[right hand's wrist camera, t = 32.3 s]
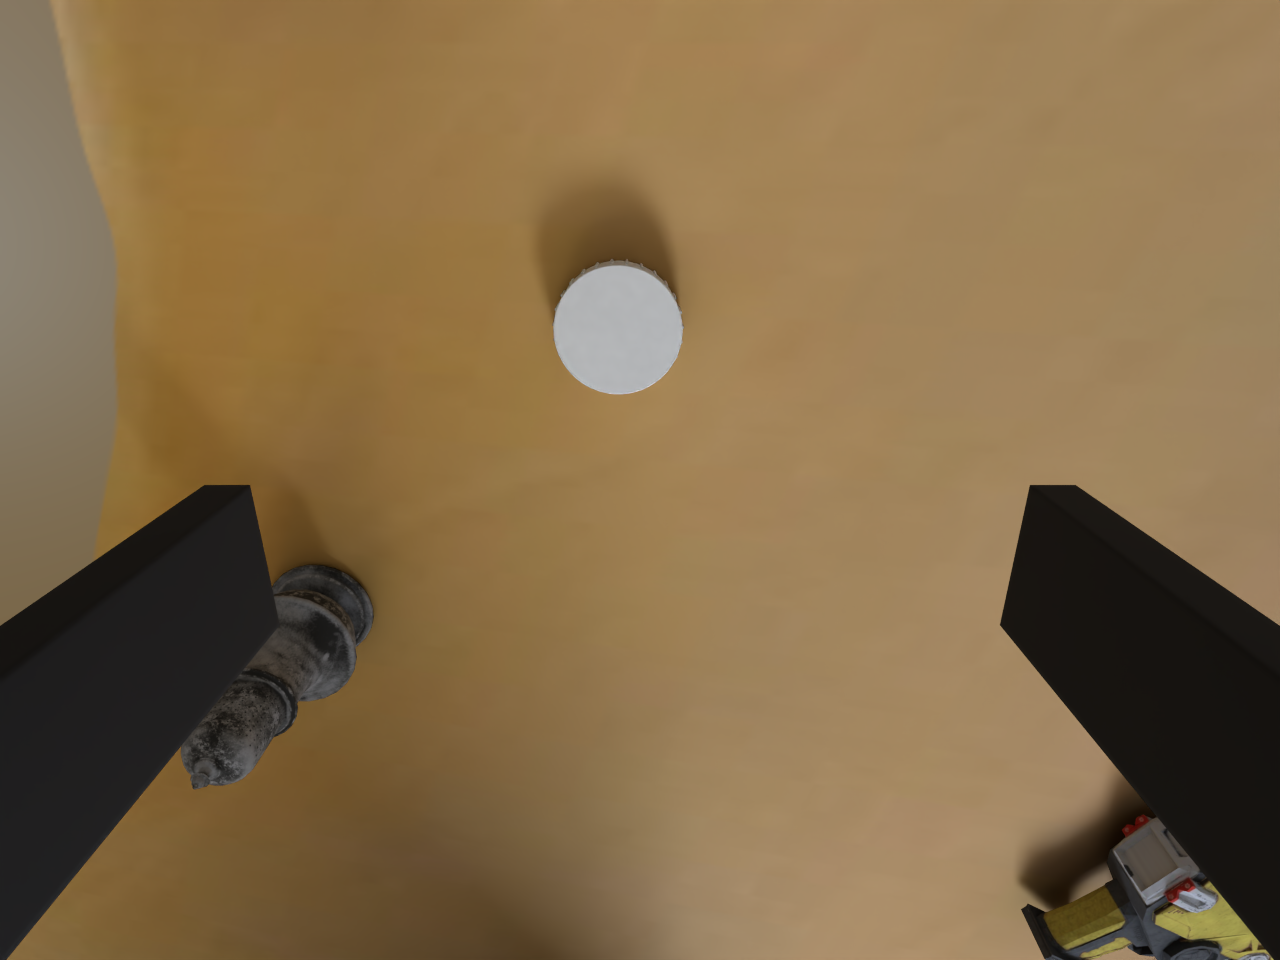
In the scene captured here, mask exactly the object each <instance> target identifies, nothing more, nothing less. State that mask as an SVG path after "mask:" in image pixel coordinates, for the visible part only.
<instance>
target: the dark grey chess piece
mask: <svg viewBox="0 0 1280 960" xmlns="http://www.w3.org/2000/svg"><path fill="white" fill-rule="evenodd" d="M272 590H273V595H274V600H275V604H276V609H277V614H278V618H279V623H280V626H279V627H278V628H277V629H276V631H275V632H274V633H273V634H272V635H271V637H270V638H269V639H268V640H267V642H266V643H265V644H264V645H263V646H262V648H261V649H260V650H259V651H258V653H257V654H256V655H255V656H254V657H253V659H252V660H251V661H250V662H249V664H248V665H247V666H246V667H245V668H244V670H243V671H242V672H241V673H240V675H239V676H238V677H237V678H236V679H235V681H234V682H233V683H232V684H231V686H230V687H229V688H228V689H227V690H226V692H225V693H224V694H223V695H222V697H221V698H220V699H219V700H218V701H217V703H216V704H215V705H214V706H213V708H212V709H211V710H210V711H209V712H208V714H207V715H206V716H205V717H204V719H203V720H202V721H201V722H200V723H199V725H198V726H197V727H196V728H195V730H194V731H193V732H192V733H191V734H190V736H189V737H188V738H187V739H186V741H185V742H184V743H183V744H182V746H181V756H182V761H183V765H184V767H185V768H186V770H187V771H188V772H189V773H190V774H191V775H192V776H191V782H192V786H193V789H199V788H202V787H206V786H207V785H209V784H210V785H227V784H231V783H235V782H237V781H239V780H241V779H243V778H244V777H245V776H246V775H247V774H248V773H249V772H250V771H252V770H253V768H254V767H255V765H256V764H257V762H258V761H259V759H260V757H261V756H262V754H263V753H264V751H265V750H266V748H267V746H268V745H269V743H270V742H271V740H272V739H273V737H275V736H278V735H280V734H282V733H284V732H285V731H287V730H288V729H289V728H290V727H291V726H292V724H293V722H294V720H295V719H296V717H297V710H298V706H297V703H298V701H313V700H317V699H322V698H325V697H328V696H330V695H332V694H334V693H336V692H337V691H339V690H340V689H341V688H342V687H343V686H344V685H345V684H346V683H347V682H348V680H349V679H350V677H351V675H352V673H353V671H354V669H355V663H356V658H357V656H356V649H355V648H356V646H358V645H359V644H360V643H361V642H362V641H363V640H364V639H365V638H366V636H367V635H368V633H369V631H370V629H371V627H372V622H373V617H374V616H373V608H372V604H371V601H370V599H369V597H368V595H367V593H366V592H365V590H364V589H363V588H362V587H361V585H360V584H359V583H358V582H357V581H355V580H354V579H353V578H351V577H350V576H349V575H347V574H345V573H343V572H341V571H339V570H337V569H335V568H331V567H327V566H322V565H305V566H301V567H297V568H293V569H292V570H290V571H288V572H286V573H284V574H283V575H282V576H281V577H280V578H279V579H278V580H277V581H276V582H275V583H274V585H273V587H272Z"/></svg>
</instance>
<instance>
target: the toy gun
mask: <svg viewBox="0 0 1280 960" xmlns="http://www.w3.org/2000/svg"><path fill="white" fill-rule="evenodd" d="M1122 831H1123V833H1124V835H1125V838H1124V839H1123V840H1122V841H1121V842H1120V843H1119V844H1117V845H1116V846H1115V847H1113V848H1112V849H1110V852H1109V856H1108V860H1107V864H1108V867H1109V870H1110V872H1111V875H1112V877H1113V880H1112V881H1110V882H1108V883H1106V884H1105V885H1104V886H1102V887H1100V888H1099V889H1097V890H1095V891H1093V892H1091V893H1089V894H1087V895H1085V896H1083V897H1081V898H1079V899H1077V900H1075V901H1074V902H1071V903H1069V904H1067V905H1064V906H1062V907H1059V908H1057V909H1054V910H1052V911H1049V912H1044V911H1042V910H1040V909H1038V908H1036V907H1034V906H1032V905H1029V904H1027V906H1026V907H1024V908H1022V909H1021V910H1022V912H1023V914H1024V916H1025V919H1026V921H1027V923H1028V925H1029V927H1030V929H1031V931H1032V933H1033V935H1034V938H1035V940H1036V942H1037V944H1038V946H1039V948H1040V950H1041V952H1042V954H1043V957H1044V959H1045V960H1091V959H1095V958H1099V957H1101V956H1102V955H1104V954H1107V953H1110V952H1114V951H1117V950H1121V949H1123V948H1125V947H1126V946H1127V947H1128V948H1129V949H1131V950H1132V951H1134V952H1136V953H1137V954H1139V955H1145V956H1155V958H1156V959H1157V960H1274V959H1273V958H1272V957H1271V956H1270V955H1269V953H1268V952H1267V951H1266V950H1265V948H1264V947H1263V946H1262V945H1261V944H1260V942H1259V941H1258V940H1257V939H1256V937H1255V936H1254V935H1253V934H1252V933H1251V931H1250V930H1249V929H1248V928H1247V926H1246V925H1245V924H1244V923H1243V922H1242V920H1241V919H1240V918H1239V917H1238V915H1237V914H1236V913H1235V912H1234V911H1233V909H1232V908H1231V907H1230V906H1229V904H1228V903H1227V902H1226V901H1225V900H1224V898H1223V897H1222V896H1221V895H1220V893H1219V892H1218V891H1217V890H1216V889H1215V887H1214V886H1213V885H1212V884H1211V882H1210V881H1209V880H1208V879H1207V878H1206V876H1205V875H1204V874H1203V873H1202V871H1201V870H1200V869H1199V868H1198V867H1197V865H1196V864H1195V863H1194V862H1193V860H1192V859H1191V858H1190V857H1189V855H1188V854H1187V853H1186V852H1185V851H1184V849H1183V848H1182V847H1181V846H1180V844H1179V843H1178V842H1177V841H1176V840H1175V838H1174V837H1173V836H1172V835H1171V833H1170V832H1169V831H1168V830H1167V829H1166V827H1165V826H1164V825H1163V824H1162V822H1161V821H1160V820H1159V819H1158V818H1157V817H1156V818H1154V819H1152V818H1149V817H1147V816H1145V815H1141V816H1139V817H1137V818H1136V822H1135V825H1126V826H1125V827H1124V828H1123V829H1122Z"/></svg>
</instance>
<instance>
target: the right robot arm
mask: <svg viewBox="0 0 1280 960" xmlns="http://www.w3.org/2000/svg"><path fill="white" fill-rule="evenodd" d="M279 626H280V623H279V618H278V614H277V609H276V604H275V600H274V595H273V590H272V586H271V581H270V576H269V572H268V567H267V562H266V558H265V553H264V548H263V544H262V539H261V534H260V530H259V525H258V520H257V516H256V511H255V506H254V502H253V497H252V492H251V488H250V485H204V486H202V487H201V488H200V489H198V490H197V491H195V492H194V493H192V494H191V495H189V496H188V497H187V498H185V499H184V500H182V501H181V502H179V503H178V504H176V505H175V506H173V507H172V508H171V509H169V510H168V511H166V512H165V513H163V514H162V515H160V516H159V517H158V518H156V519H155V520H153V521H152V522H150V523H149V524H147V525H146V526H144V527H143V528H142V529H140V530H139V531H137V532H136V533H134V534H133V535H131V536H130V537H128V538H127V539H126V540H124V541H123V542H121V543H120V544H118V545H117V546H115V547H114V548H113V549H111V550H110V551H108V552H107V553H105V554H104V555H102V556H101V557H99V558H98V559H97V560H95V561H94V562H92V563H91V564H89V565H88V566H86V567H85V568H84V569H82V570H81V571H79V572H78V573H76V574H75V575H73V576H72V577H70V578H69V579H68V580H66V581H65V582H63V583H62V584H60V585H59V586H57V587H56V588H55V589H53V590H52V591H50V592H49V593H47V594H46V595H44V596H43V597H41V598H40V599H39V600H37V601H36V602H34V603H33V604H31V605H30V606H28V607H27V608H26V609H24V610H23V611H21V612H20V613H18V614H17V615H15V616H14V617H12V618H11V619H10V620H8V621H7V622H5V623H4V624H2V625H1V626H0V960H6V959H7V958H8V957H9V956H10V955H11V953H12V952H13V951H14V950H15V948H16V947H17V946H18V945H19V944H20V942H21V941H22V940H23V939H24V937H25V936H26V935H27V934H28V933H29V931H30V930H31V929H32V928H33V926H34V925H35V924H36V923H37V922H38V920H39V919H40V918H41V917H42V915H43V914H44V913H45V912H46V911H47V909H48V908H49V907H50V906H51V904H52V903H53V902H54V901H55V900H56V898H57V897H58V896H59V895H60V893H61V892H62V891H63V890H64V889H65V887H66V886H67V885H68V884H69V882H70V881H71V880H72V879H73V878H74V876H75V875H76V874H77V873H78V871H79V870H80V869H81V868H82V867H83V865H84V864H85V863H86V862H87V860H88V859H89V858H90V857H91V855H92V854H93V853H94V852H95V851H96V849H97V848H98V847H99V846H100V844H101V843H102V842H103V841H104V840H105V838H106V837H107V836H108V835H109V833H110V832H111V831H112V830H113V829H114V827H115V826H116V825H117V824H118V822H119V821H120V820H121V819H122V818H123V816H124V815H125V814H126V813H127V811H128V810H129V809H130V808H131V807H132V805H133V804H134V803H135V802H136V800H137V799H138V798H139V797H140V796H141V794H142V793H143V792H144V791H145V789H146V788H147V787H148V786H149V785H150V783H151V782H152V781H153V780H154V778H155V777H156V776H157V775H158V774H159V772H160V771H161V770H162V769H163V767H164V766H165V765H166V764H167V763H168V761H169V760H170V759H171V758H172V756H173V755H174V754H175V753H176V752H177V750H178V749H179V748H180V747H181V745H182V744H183V743H184V742H185V741H186V739H187V738H188V737H189V736H190V734H191V733H192V732H193V731H194V730H195V728H196V727H197V726H198V725H199V723H200V722H201V721H202V720H203V719H204V717H205V716H206V715H207V714H208V712H209V711H210V710H211V709H212V708H213V706H214V705H215V704H216V703H217V701H218V700H219V699H220V698H221V697H222V695H223V694H224V693H225V692H226V690H227V689H228V688H229V687H230V686H231V684H232V683H233V682H234V681H235V679H236V678H237V677H238V676H239V675H240V673H241V672H242V671H243V670H244V668H245V667H246V666H247V665H248V664H249V662H250V661H251V660H252V659H253V657H254V656H255V655H256V654H257V653H258V651H259V650H260V649H261V648H262V646H263V645H264V644H265V643H266V642H267V640H268V639H269V638H270V637H271V635H272V634H273V633H274V632H275V631H276V629H277V628H278V627H279ZM1000 626H1001V627H1002V628H1003V629H1004V631H1005V632H1006V633H1007V634H1008V635H1009V637H1010V638H1011V639H1012V640H1013V642H1014V643H1015V644H1016V645H1017V646H1018V648H1019V649H1020V650H1021V651H1022V653H1023V654H1024V655H1025V656H1026V657H1027V659H1028V660H1029V661H1030V662H1031V664H1032V665H1033V666H1034V667H1035V668H1036V670H1037V671H1038V672H1039V673H1040V675H1041V676H1042V677H1043V678H1044V679H1045V681H1046V682H1047V683H1048V684H1049V686H1050V687H1051V688H1052V689H1053V690H1054V692H1055V693H1056V694H1057V695H1058V697H1059V698H1060V699H1061V700H1062V701H1063V703H1064V704H1065V705H1066V706H1067V708H1068V709H1069V710H1070V711H1071V712H1072V714H1073V715H1074V716H1075V717H1076V719H1077V720H1078V721H1079V722H1080V723H1081V725H1082V726H1083V727H1084V728H1085V730H1086V731H1087V732H1088V733H1089V734H1090V736H1091V737H1092V738H1093V739H1094V741H1095V742H1096V743H1097V744H1098V745H1099V747H1100V748H1101V749H1102V750H1103V752H1104V753H1105V754H1106V755H1107V756H1108V758H1109V759H1110V760H1111V761H1112V763H1113V764H1114V765H1115V766H1116V767H1117V769H1118V770H1119V771H1120V772H1121V774H1122V775H1123V776H1124V777H1125V778H1126V780H1127V781H1128V782H1129V783H1130V785H1131V786H1132V787H1133V788H1134V789H1135V791H1136V792H1137V793H1138V794H1139V796H1140V797H1141V798H1142V799H1143V800H1144V802H1145V803H1146V804H1147V805H1148V807H1149V808H1150V809H1151V810H1152V811H1153V813H1154V814H1155V815H1156V816H1157V818H1158V819H1159V820H1160V821H1161V822H1162V824H1163V825H1164V826H1165V827H1166V829H1167V830H1168V831H1169V832H1170V833H1171V835H1172V836H1173V837H1174V838H1175V840H1176V841H1177V842H1178V843H1179V844H1180V846H1181V847H1182V848H1183V849H1184V851H1185V852H1186V853H1187V854H1188V855H1189V857H1190V858H1191V859H1192V860H1193V862H1194V863H1195V864H1196V865H1197V867H1198V868H1199V869H1200V870H1201V871H1202V873H1203V874H1204V875H1205V876H1206V878H1207V879H1208V880H1209V881H1210V882H1211V884H1212V885H1213V886H1214V887H1215V889H1216V890H1217V891H1218V892H1219V893H1220V895H1221V896H1222V897H1223V898H1224V900H1225V901H1226V902H1227V903H1228V904H1229V906H1230V907H1231V908H1232V909H1233V911H1234V912H1235V913H1236V914H1237V915H1238V917H1239V918H1240V919H1241V920H1242V922H1243V923H1244V924H1245V925H1246V926H1247V928H1248V929H1249V930H1250V931H1251V933H1252V934H1253V935H1254V936H1255V937H1256V939H1257V940H1258V941H1259V942H1260V944H1261V945H1262V946H1263V947H1264V948H1265V950H1266V951H1267V952H1268V953H1269V955H1270V956H1271V957H1272V958H1273V959H1274V960H1280V626H1279V625H1278V624H1276V623H1275V622H1273V621H1272V620H1270V619H1269V618H1268V617H1266V616H1265V615H1263V614H1262V613H1260V612H1259V611H1257V610H1256V609H1254V608H1253V607H1252V606H1250V605H1249V604H1247V603H1246V602H1244V601H1243V600H1241V599H1240V598H1239V597H1237V596H1236V595H1234V594H1233V593H1231V592H1230V591H1228V590H1227V589H1225V588H1224V587H1223V586H1221V585H1220V584H1218V583H1217V582H1215V581H1214V580H1212V579H1211V578H1210V577H1208V576H1207V575H1205V574H1204V573H1202V572H1201V571H1199V570H1198V569H1196V568H1195V567H1194V566H1192V565H1191V564H1189V563H1188V562H1186V561H1185V560H1183V559H1182V558H1181V557H1179V556H1178V555H1176V554H1175V553H1173V552H1172V551H1170V550H1169V549H1167V548H1166V547H1165V546H1163V545H1162V544H1160V543H1159V542H1157V541H1156V540H1154V539H1153V538H1152V537H1150V536H1149V535H1147V534H1146V533H1144V532H1143V531H1141V530H1140V529H1138V528H1137V527H1136V526H1134V525H1133V524H1131V523H1130V522H1128V521H1127V520H1125V519H1124V518H1122V517H1121V516H1120V515H1118V514H1117V513H1115V512H1114V511H1112V510H1111V509H1109V508H1108V507H1107V506H1105V505H1104V504H1102V503H1101V502H1099V501H1098V500H1096V499H1095V498H1093V497H1092V496H1091V495H1089V494H1088V493H1086V492H1085V491H1083V490H1082V489H1080V488H1079V487H1078V486H1076V485H1030V488H1029V492H1028V497H1027V502H1026V506H1025V511H1024V516H1023V520H1022V525H1021V530H1020V534H1019V539H1018V544H1017V548H1016V553H1015V558H1014V562H1013V567H1012V572H1011V576H1010V581H1009V586H1008V590H1007V595H1006V600H1005V604H1004V609H1003V614H1002V618H1001V623H1000Z"/></svg>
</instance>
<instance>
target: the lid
mask: <svg viewBox="0 0 1280 960" xmlns="http://www.w3.org/2000/svg"><path fill="white" fill-rule="evenodd" d="M569 284H570V285H569V286H568V288H567V289H566V291H565V290H563V292H562V294H561V297H562V298H561V300H560V302H559V304H557V306H556V308H555V311H556V313H555V318H554V322H553V326H554V328H553V330H554V341H555V345H556V348H557V351H558V355H559V356H560V358H561V360H562V362H563V364H564V365H565V367H566V368H567V369H568V371H569V372H570V373H571V374H572V375H573V376H574V377H575V378H576V379H577V380H579V381H580V382H582V383H583V384H584V385H586V386H588V387H590V388H592V389H594V390H597V391H600V392H604V393H609V394H628V393H633V392H637V391H640V390H643V389H645V388H647V387H649V386H651V385H652V384H654V383H655V382H657V381H658V380H659V379H661V378H662V377H663V376H664V375H665V374H666V373H667V371H668V370H669V369H670V367H671V366H672V365H673V363H674V361H675V359H676V358H677V356H678V352H679V350H680V346H681V344H682V329H684V326H683V323H682V319H681V314H682V311H681V309H680V306H678V305H677V303H676V299H677V298H676V296H675V293H674V292H673V293H672V292H671V290H670V289H669V287H668V284H667V281H666V280H665V281H663V280H662V279H661V278H660V277H659V276H658V275H657V274H656V271H655V270H653V271H651V270H650V269H648V268H646V267H644V266H643V264H642V263H640V265H639V264H637V263H633V262H629V261H628V259H626V261H613V259H611V260H610V261H608V262H603V263H600V264H599V263H598V262H596V264H595V265H594V266H592V267H590V268H588V269H586V270H585V268H584V269H583V270H582V272H581V274H579V275H578V276H577V277H576V278H575V279H574V278H572V279H571V281H570V283H569Z"/></svg>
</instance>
